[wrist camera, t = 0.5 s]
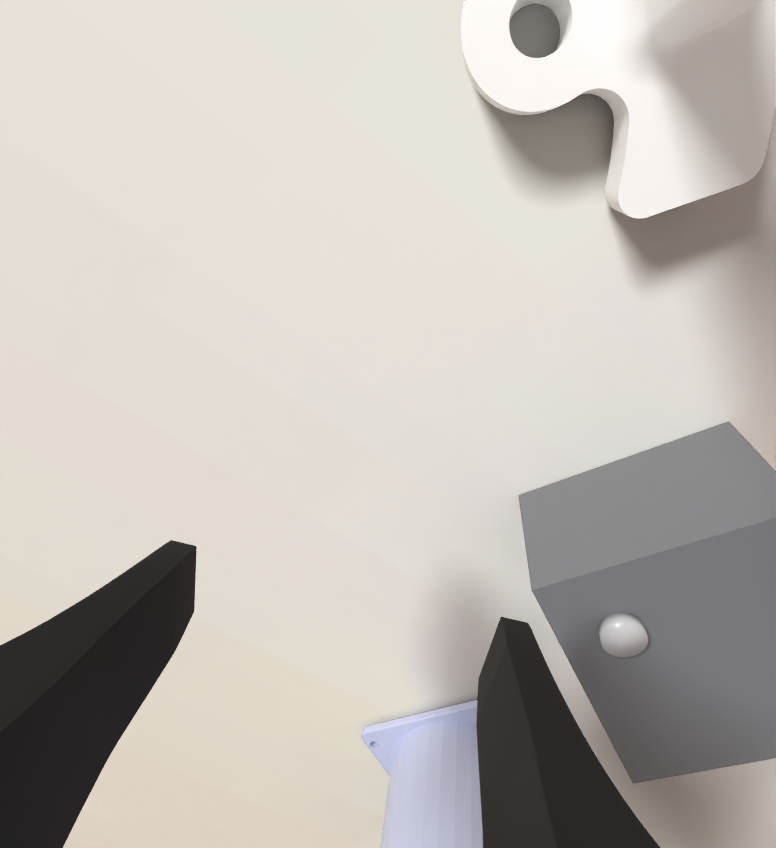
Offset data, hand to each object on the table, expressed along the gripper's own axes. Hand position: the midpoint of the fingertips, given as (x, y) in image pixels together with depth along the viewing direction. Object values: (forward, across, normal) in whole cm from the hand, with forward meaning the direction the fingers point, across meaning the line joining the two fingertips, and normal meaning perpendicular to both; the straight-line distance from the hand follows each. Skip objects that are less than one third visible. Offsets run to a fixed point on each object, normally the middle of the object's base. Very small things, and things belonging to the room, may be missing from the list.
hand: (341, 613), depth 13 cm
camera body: (+10, -12, +3) cm, 16 cm away
